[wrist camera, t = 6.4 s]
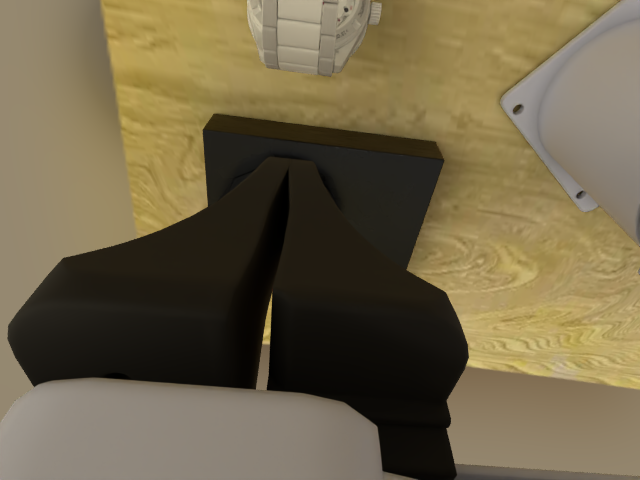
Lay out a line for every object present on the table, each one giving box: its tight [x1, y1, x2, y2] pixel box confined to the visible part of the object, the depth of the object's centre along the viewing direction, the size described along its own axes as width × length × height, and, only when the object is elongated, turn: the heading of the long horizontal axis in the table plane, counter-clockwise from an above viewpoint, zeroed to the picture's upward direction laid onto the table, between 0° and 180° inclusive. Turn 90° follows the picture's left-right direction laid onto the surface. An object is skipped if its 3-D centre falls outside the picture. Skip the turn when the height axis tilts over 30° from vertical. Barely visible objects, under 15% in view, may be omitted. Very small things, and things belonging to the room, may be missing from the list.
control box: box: [203, 114, 444, 269], centre depth 22 cm, size 12×10×4 cm
